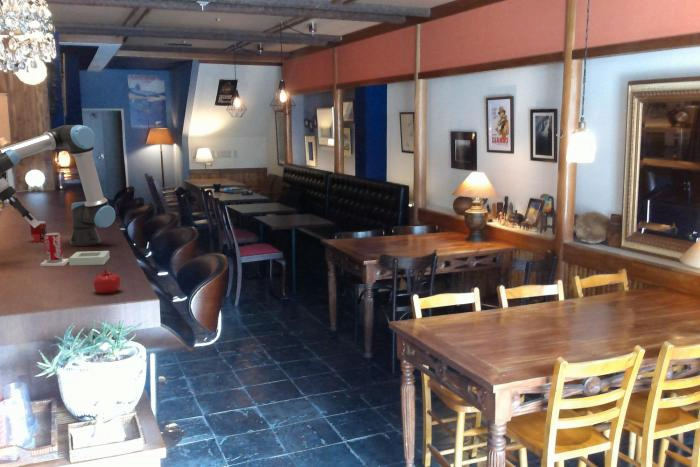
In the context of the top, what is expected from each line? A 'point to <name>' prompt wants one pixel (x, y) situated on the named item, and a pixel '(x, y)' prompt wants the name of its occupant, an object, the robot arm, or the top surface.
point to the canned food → (38, 232)
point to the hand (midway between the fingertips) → (37, 226)
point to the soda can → (53, 247)
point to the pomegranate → (107, 282)
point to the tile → (55, 263)
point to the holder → (89, 258)
